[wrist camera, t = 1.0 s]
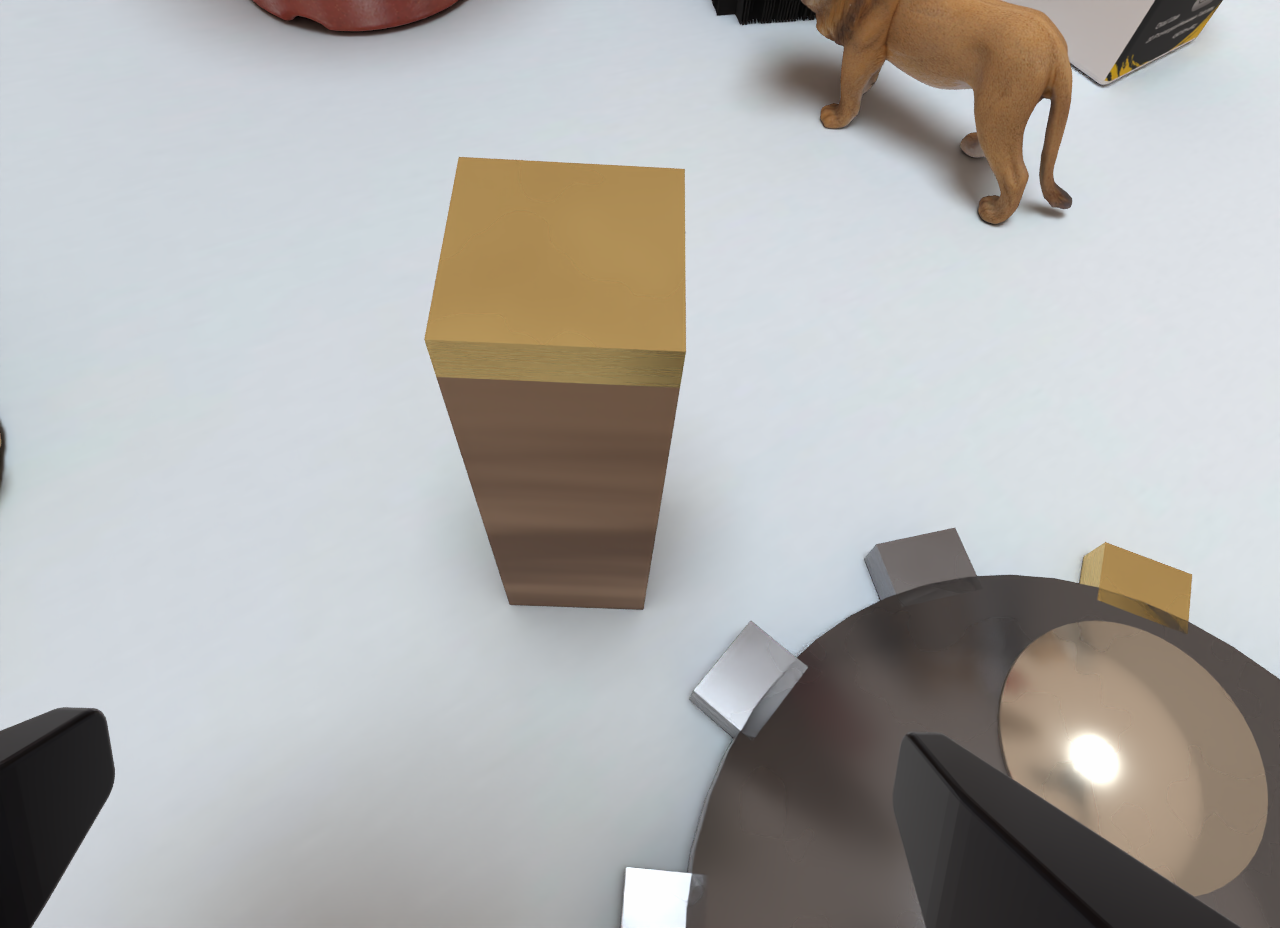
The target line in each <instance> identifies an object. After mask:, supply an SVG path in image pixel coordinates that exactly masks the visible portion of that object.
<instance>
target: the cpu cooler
mask: <svg viewBox="0 0 1280 928" xmlns="http://www.w3.org/2000/svg"><path fill="white" fill-rule="evenodd" d="M712 1H713V2H712V3H713V6H714V7H715V9H716V11H717V12H716V13H717V15H726V14H736V16H737V18H738V20H739V22H740V25H741V22H742V25H744V22H745V25H747V22H749V23H750V21H751V23H752V21H753V20H754V22H755V24H756V18H757V20H758V22H759V21H760V22H761V23H765V22H767V23H768V22H770V23H771V22H772V20H773V22H774V20H775V22H777V21H779V22H781V21H782V22H783V21H785V22H787V20H788V21H790V20H791V21H793V19H794V21H796V19H797V20H798V17H799V19H801V17H802V19H803V20H805V19H807V16H808V18H809V20H811V19H812V20H814V16H815V17H816V13H815V12H813V11H812V10H811V9H810V8H808V7H807V5H805V4H803V3H802V1H801V0H712Z"/></svg>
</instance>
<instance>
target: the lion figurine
mask: <svg viewBox="0 0 1280 928" xmlns="http://www.w3.org/2000/svg"><path fill="white" fill-rule="evenodd" d="M801 1H802V3H803V4H805V5H807V7H808V8H810V9H811V10H812V11H813V12H815V13H816V20H817V24H816V28H817V30H818V31H819V32H820V33H821V34H822V35H823V36H825V37H826V38H828V39H830V40H832V41H835V43H836V44H838V45H842V46H844V51H843V60H842V68H841V81H840V83H841V98H840V102H839V104H835V103H833V104H830V105H826V106H824V107H823V108H822V110H821V116H820V118H821V120H822V122H823V124H824V126H825V127H826V128H833V129H834V128H842V127H845V126H847V125H848V124H849V123H850V122H851V121H852V120H853V119H854V117H855V116H857V115H858V113H859V110H860V105H861V100H862V95H863V94H864V93H866V92H867V91H869V89H870V88H871V87H872V86H873V84H874V83H875V82H876V80H877V77H878V75H879V72H880V70H881V67H882V65H883V64H884V62H885V60H888V61H889V62H891V63H892V64H893V65H895V66H896V67H897V68H899V69H900V70H902V71H903V72H905V73H906V74H908V75H909V76H911V77H913V78H915V79H916V80H918V81H920V82H922V83H924V84H926V85H929V86H931V87H935V88H940V89H948V90H957V89H973V91H974V115H975V123H976V130H977V132H975V133H970V134H968V135H966V136H965V137H964V138H963V139H962V141H961V143H960V147H961V149H962V150H963V151H964V152H965V153H966V154H967V155H969V156H971V157H975V158H977V157H986V159H987V161H988V163H989V165H990V167H991V170H992V171H993V173H994V175H995V177H996V179H997V181H998V184H999V187H1000V191H1001V195H1000V197H999V196H996V195H993V196H986V197H983V198H982V199H981V200H980V203H979V209H978V212H979V215H980V217H981V218H982V219H983V220H984V221H986V222H989V223H993V224H998V223H1001V222H1003V221H1005V220H1006V219H1008V218H1009V217H1010V216H1011V215H1012V214H1013V213H1014V212H1015V210H1016V209H1017V207H1018V205H1019V203H1020V200H1021V198H1022V195H1023V192H1024V189H1025V186H1026V184H1027V181H1028V177H1029V175H1028V172H1027V169H1026V166H1025V164H1024V161H1023V155H1022V145H1023V134H1024V129H1025V126H1026V124H1027V121H1028V119H1029V117H1030V115H1031V113H1032V111H1033V110H1034V108H1035V106H1036V104H1037V103H1038V102H1040V101H1041V100H1042V99H1043V98H1046V99H1050V100H1051V107H1050V113H1049V118H1048V123H1047V128H1046V133H1045V140H1044V145H1043V150H1042V154H1041V163H1040V172H1039V177H1040V185H1041V189H1042V193H1043V196H1044V198H1045V199H1046V200H1047V201H1048V202H1049V204H1050V205H1051V206H1052V207H1058V208H1061V209H1068V208H1070V207H1071V205H1072V198H1071V197H1070V196H1069V194H1068V193H1067V192H1065V191H1064V190H1063V189H1062V188H1060V187H1059V186H1058V185H1057V184H1056V183H1055V182H1054V178H1053V169H1054V165H1055V161H1056V158H1057V154H1058V150H1059V146H1060V143H1061V140H1062V136H1063V133H1064V129H1065V125H1066V122H1067V118H1068V114H1069V109H1070V103H1071V93H1072V70H1071V65H1070V61H1069V57H1068V46H1067V43H1066V41H1065V39H1064V36H1063V35H1062V34H1061V32H1060V31H1059V29H1058V28H1057V27H1056V25H1055V24H1054V23H1053V22H1052V21H1051V19H1050V18H1049V17H1048V16H1047V15H1046V14H1045V13H1043V12H1041V11H1039V10H1036V9H1032V8H1029V7H1024V6H1020V5H1015V4H1012V3H1008V2H1005V1H1002V0H801Z"/></svg>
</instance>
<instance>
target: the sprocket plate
mask: <svg viewBox="0 0 1280 928" xmlns="http://www.w3.org/2000/svg"><path fill="white" fill-rule="evenodd" d="M865 562H866V564H867V567H868V570H869V572H870V575H871V577H872V580H873V582H874V585H875V588H876V590H877V593H878V595H879V598H880V600H881V601H879V602H877V603H875V604H873V605H871V606H869V607H867V608H865V609H863V610H861V611H859V612H857V613H855V614H853V615H851V616H849V617H848V618H846V619H845V620H844V621H842V622H841V623H839V624H838V625H836V626H835V627H834V628H832V629H831V630H829V631H828V632H826V633H825V634H824V635H822V636H821V637H819V638H818V639H816V640H815V641H814V642H813V643H812V644H811V645H810V646H809V647H808V648H807V649H806V650H805V651H804V652H802V653H801V654H800V655H799V656H798V657H797V658H796V657H795V656H794V655H793V654H791V653H790V652H789V651H788V650H786V649H785V648H784V647H783V646H782V645H780V644H779V643H778V642H777V641H775V640H774V639H773V638H772V637H771V636H769V635H768V634H767V633H766V632H764V631H763V630H762V629H761V628H759V627H758V626H757V625H756V624H755V623H753V622H752V621H750V622H749V623H748V625H747V626H746V627H745V628H744V629H743V631H742V632H741V633H740V634H739V636H738V637H737V638H736V639H735V640H734V642H733V643H732V644H731V645H730V647H729V648H728V649H727V650H726V651H725V653H724V654H723V655H722V656H721V658H720V659H719V660H718V661H717V662H716V664H715V665H714V666H713V667H712V669H711V670H710V671H709V672H708V674H707V675H706V676H705V677H704V678H703V680H702V681H701V682H700V683H699V685H698V686H697V687H696V688H695V689H694V691H693V693H692V695H691V697H690V699H689V700H691V701H692V702H693V703H694V704H695V705H696V706H697V707H699V708H700V709H701V710H702V711H703V712H704V713H705V714H707V715H708V716H709V717H710V718H711V719H712V720H713V721H715V722H716V723H717V724H718V725H719V726H720V727H721V728H723V729H724V730H725V731H726V732H727V733H728V734H729V735H731V736H732V737H733V738H734V739H733V740H732V742H731V744H730V745H729V747H728V749H727V750H726V752H725V754H724V756H723V758H722V761H721V763H720V765H719V768H718V770H717V773H716V775H715V777H714V780H713V782H712V784H711V787H710V789H709V791H708V794H707V796H706V799H705V801H704V805H703V808H702V812H701V815H700V819H699V823H698V826H697V830H696V833H695V837H694V840H693V844H692V848H691V851H690V857H689V864H688V870H687V873H682V872H671V871H661V870H650V869H640V868H629V867H626V868H625V875H624V887H623V899H622V911H621V923H620V928H926V926H925V923H924V919H923V916H922V912H921V908H920V905H919V901H918V898H917V894H916V890H915V887H914V883H913V880H912V876H911V873H910V869H909V865H908V862H907V858H906V855H905V851H904V847H903V844H902V840H901V837H900V833H899V829H898V826H897V822H896V819H895V815H894V810H893V800H892V799H893V787H894V781H895V775H896V769H897V763H898V757H899V750H900V745H901V741H902V739H903V737H904V735H905V734H907V733H908V732H938V733H942V734H944V735H945V736H947V737H949V738H950V739H952V740H953V741H955V742H956V743H958V744H959V745H961V746H963V747H964V748H966V749H967V750H969V751H970V752H972V753H973V754H975V755H976V756H978V757H980V758H981V759H983V760H984V761H986V762H987V763H989V764H990V765H992V766H993V767H995V768H996V769H998V770H1000V771H1001V772H1003V773H1004V774H1006V775H1007V776H1009V777H1010V778H1012V779H1013V780H1015V781H1017V782H1018V783H1020V784H1021V785H1023V786H1024V787H1026V788H1027V789H1029V790H1030V791H1032V792H1034V793H1035V794H1037V795H1038V796H1040V797H1041V798H1043V799H1044V800H1046V801H1047V802H1049V803H1051V804H1052V805H1054V806H1055V807H1057V808H1058V809H1060V810H1061V811H1063V812H1064V813H1066V814H1068V815H1069V816H1071V817H1072V818H1074V819H1075V820H1077V821H1078V822H1080V823H1081V824H1083V825H1084V826H1086V827H1088V828H1089V829H1091V830H1092V831H1094V832H1095V833H1097V834H1098V835H1100V836H1101V837H1103V838H1105V839H1106V840H1108V841H1109V842H1111V843H1112V844H1114V845H1115V846H1117V847H1118V848H1120V849H1122V850H1123V851H1125V852H1126V853H1128V854H1129V855H1131V856H1132V857H1134V858H1135V859H1137V860H1139V861H1140V862H1142V863H1143V864H1145V865H1146V866H1148V867H1149V868H1151V869H1152V870H1154V871H1156V872H1157V873H1159V874H1160V875H1162V876H1163V877H1165V878H1166V879H1168V880H1169V881H1171V882H1172V883H1174V884H1176V885H1177V886H1179V887H1180V888H1182V889H1183V890H1185V891H1186V892H1188V893H1189V894H1191V895H1193V896H1194V897H1196V898H1197V899H1199V900H1200V901H1202V902H1203V903H1205V904H1206V905H1208V906H1210V907H1211V908H1213V909H1214V910H1216V911H1217V912H1219V913H1220V914H1222V915H1223V916H1225V917H1227V918H1228V919H1230V920H1231V921H1233V922H1234V923H1236V924H1237V925H1239V926H1240V927H1242V928H1280V679H1279V678H1277V677H1276V676H1274V675H1273V674H1271V673H1270V672H1269V671H1267V670H1266V669H1264V668H1263V667H1261V666H1260V665H1259V664H1257V663H1256V662H1254V661H1253V660H1251V659H1250V658H1248V657H1247V656H1246V655H1244V654H1243V653H1241V652H1240V651H1238V650H1237V649H1235V648H1234V647H1232V646H1231V645H1229V644H1227V643H1225V642H1224V641H1222V640H1220V639H1218V638H1216V637H1215V636H1213V635H1211V634H1209V633H1208V632H1206V631H1204V630H1202V629H1201V628H1199V627H1197V626H1195V625H1193V624H1192V623H1190V622H1188V620H1189V608H1190V595H1191V582H1192V574H1189V573H1186V572H1184V571H1181V570H1178V569H1176V568H1173V567H1170V566H1168V565H1165V564H1162V563H1160V562H1157V561H1154V560H1152V559H1149V558H1146V557H1144V556H1141V555H1138V554H1136V553H1133V552H1130V551H1128V550H1125V549H1122V548H1119V547H1117V546H1114V545H1111V544H1109V543H1106V542H1105V543H1103V544H1102V545H1100V546H1099V547H1097V548H1096V549H1094V550H1093V551H1091V552H1090V553H1088V554H1087V555H1085V556H1084V559H1083V565H1082V572H1081V578H1080V584H1079V583H1074V582H1070V581H1065V580H1060V579H1055V578H1043V577H1031V576H1019V575H996V576H977V575H976V573H975V571H974V568H973V566H972V564H971V562H970V560H969V557H968V555H967V553H966V551H965V549H964V546H963V544H962V542H961V540H960V538H959V535H958V533H957V531H956V529H955V528H952V529H947V530H942V531H937V532H933V533H928V534H923V535H918V536H914V537H909V538H904V539H899V540H895V541H890V542H885V543H881V544H876V545H875V547H874V548H873V549H872V550H871V551H870V553H869V554H868V555H867V556H866V557H865Z"/></svg>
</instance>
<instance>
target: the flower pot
mask: <svg viewBox="0 0 1280 928" xmlns="http://www.w3.org/2000/svg"><path fill="white" fill-rule="evenodd" d="M253 1H254V2H255V3H256V4H257V5H259V6H260V7H261V8H263V9H265V10H266V11H268V12H270V13H272V14H273V15H275V16H277V17H279V18H281V19H284V20H288V21H289V20H293V19H294V18H295V17H296V16H302V17H306V18H309V19H311V20H314V21H316V22H318V23H320V24H322V25H323V26H325V27H326V28H327V29H329V30H335V31H367V30H377V29H385V28H391V27H396V26H400V25H404V24H408V23H412V22H415V21H418V20H421V19H424V18H427V17H429V16H431V15H434V14H436V13H438V12H440V11H442V10H444V9H446V8H448V7H450V6H451V5H453V4H454V3H456V2H457V1H458V0H253Z"/></svg>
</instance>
